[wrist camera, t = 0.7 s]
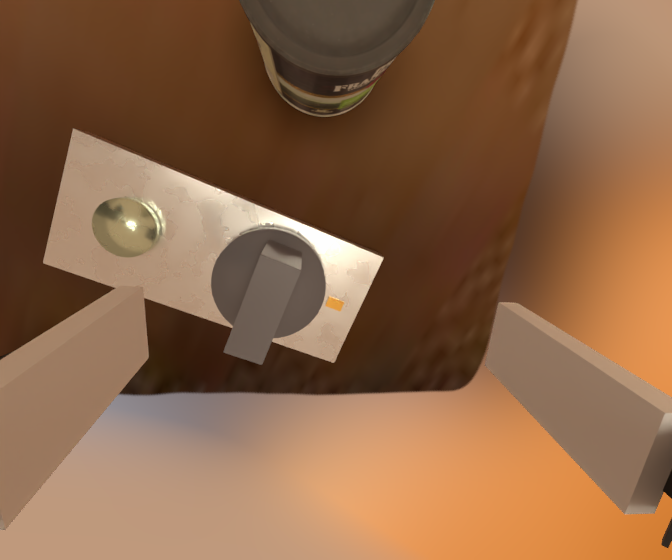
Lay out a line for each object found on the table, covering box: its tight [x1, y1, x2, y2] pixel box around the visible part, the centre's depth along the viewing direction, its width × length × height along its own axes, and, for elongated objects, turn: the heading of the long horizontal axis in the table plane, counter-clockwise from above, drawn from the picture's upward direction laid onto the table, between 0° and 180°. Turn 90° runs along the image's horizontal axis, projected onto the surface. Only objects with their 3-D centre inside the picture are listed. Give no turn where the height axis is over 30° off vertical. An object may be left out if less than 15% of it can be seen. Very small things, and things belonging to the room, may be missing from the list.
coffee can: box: [239, 0, 435, 117], centre depth 23 cm, size 10×10×14 cm
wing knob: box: [211, 227, 326, 365], centre depth 29 cm, size 10×10×8 cm
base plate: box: [43, 129, 384, 363], centre depth 33 cm, size 28×12×3 cm, turn 67°
